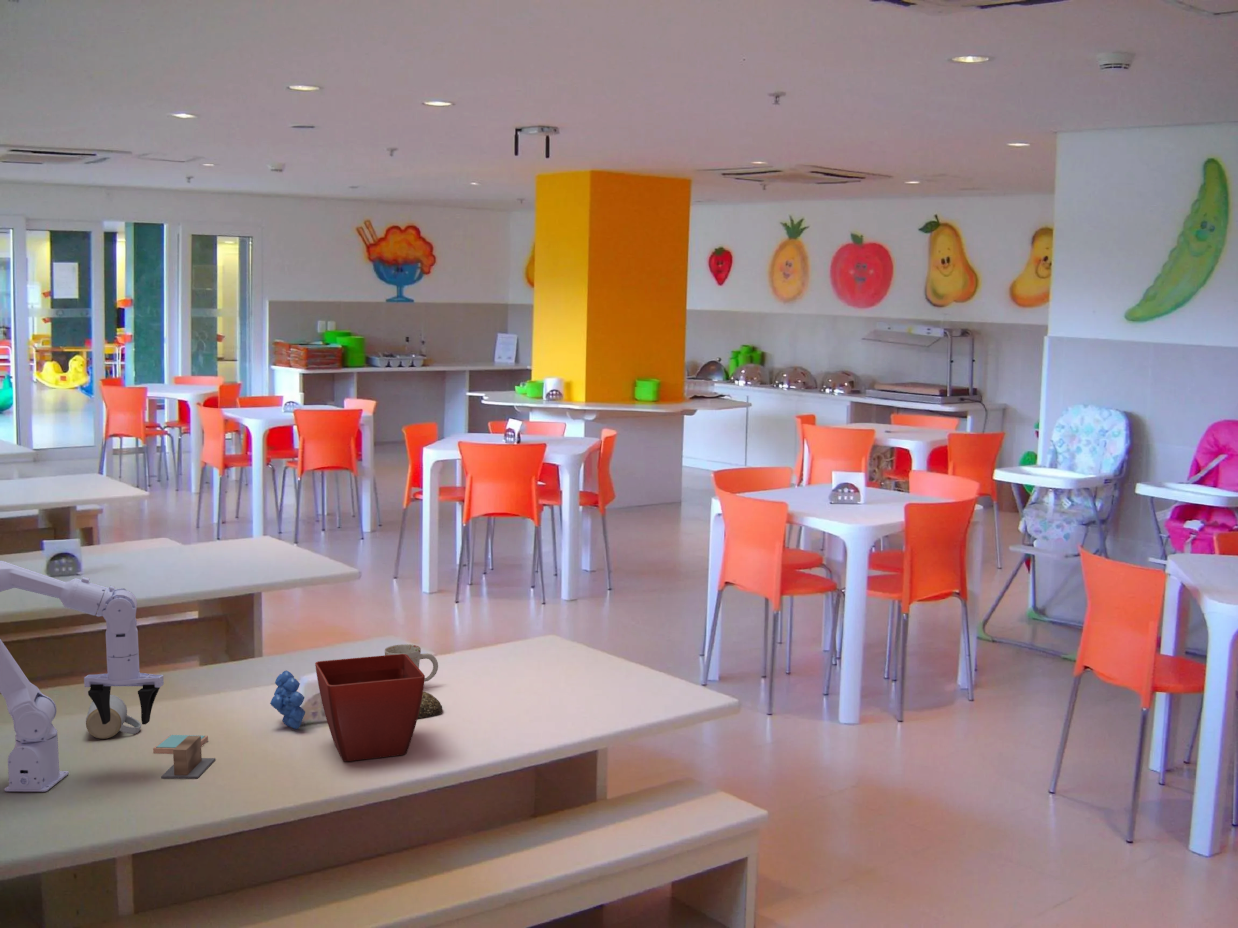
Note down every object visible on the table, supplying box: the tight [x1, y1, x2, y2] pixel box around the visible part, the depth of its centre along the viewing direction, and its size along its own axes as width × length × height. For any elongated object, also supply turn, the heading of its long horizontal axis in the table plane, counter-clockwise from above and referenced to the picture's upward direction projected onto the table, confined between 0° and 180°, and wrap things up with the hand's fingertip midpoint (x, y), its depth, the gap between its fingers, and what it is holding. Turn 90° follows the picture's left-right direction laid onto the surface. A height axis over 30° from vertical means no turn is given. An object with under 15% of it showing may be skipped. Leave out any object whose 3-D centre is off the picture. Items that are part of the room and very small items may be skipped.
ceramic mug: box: [85, 693, 142, 740], centre depth 266 cm, size 11×8×8 cm
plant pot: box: [314, 654, 426, 762], centre depth 255 cm, size 19×19×17 cm
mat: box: [160, 757, 216, 780], centre depth 245 cm, size 10×7×1 cm
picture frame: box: [152, 734, 209, 755], centre depth 258 cm, size 2×8×8 cm
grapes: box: [269, 670, 306, 730], centre depth 269 cm, size 12×7×12 cm, turn 37°
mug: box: [384, 643, 439, 683], centre depth 297 cm, size 8×13×10 cm, turn 115°
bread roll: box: [417, 690, 443, 720], centre depth 281 cm, size 13×12×5 cm
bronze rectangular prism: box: [172, 735, 203, 775], centre depth 244 cm, size 8×2×5 cm, turn 179°
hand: (126, 722), depth 242 cm, fingers open, 7 cm apart
